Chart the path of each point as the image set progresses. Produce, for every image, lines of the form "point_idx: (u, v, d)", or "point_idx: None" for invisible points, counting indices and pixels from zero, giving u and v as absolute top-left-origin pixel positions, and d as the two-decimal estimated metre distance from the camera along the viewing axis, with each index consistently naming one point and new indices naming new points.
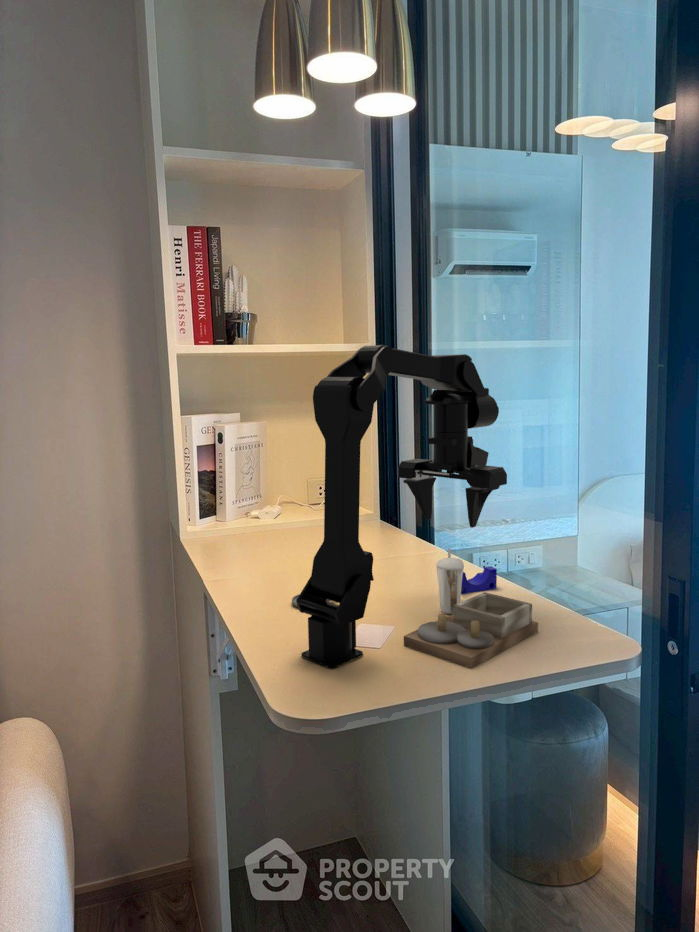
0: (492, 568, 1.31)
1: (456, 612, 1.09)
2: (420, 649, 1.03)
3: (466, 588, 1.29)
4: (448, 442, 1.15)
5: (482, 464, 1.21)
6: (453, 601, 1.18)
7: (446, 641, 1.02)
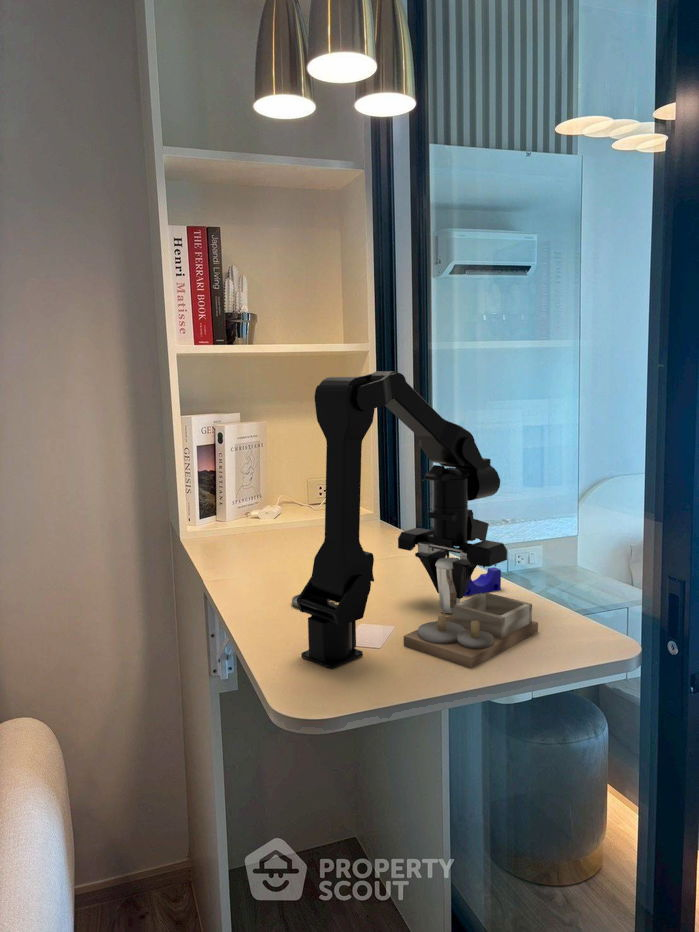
0: (496, 569, 1.30)
1: (456, 612, 1.09)
2: (420, 649, 1.03)
3: (471, 589, 1.28)
4: (448, 518, 1.15)
5: (482, 536, 1.21)
6: (453, 600, 1.18)
7: (446, 641, 1.02)
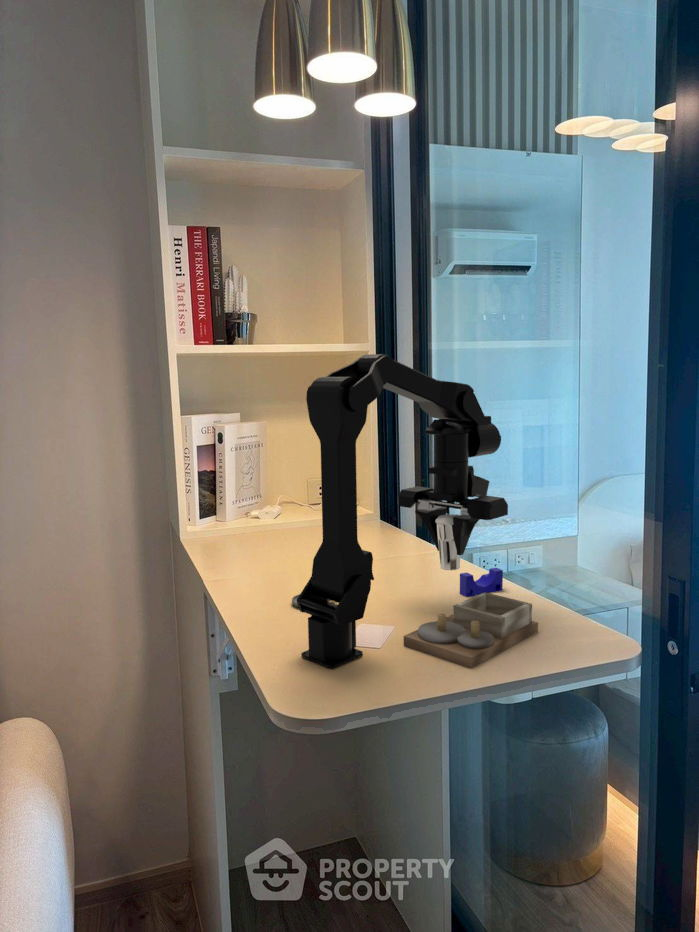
0: (498, 569, 1.30)
1: (456, 612, 1.09)
2: (420, 649, 1.03)
3: (474, 590, 1.27)
4: (448, 472, 1.14)
5: (483, 493, 1.20)
6: (453, 557, 1.17)
7: (446, 641, 1.02)
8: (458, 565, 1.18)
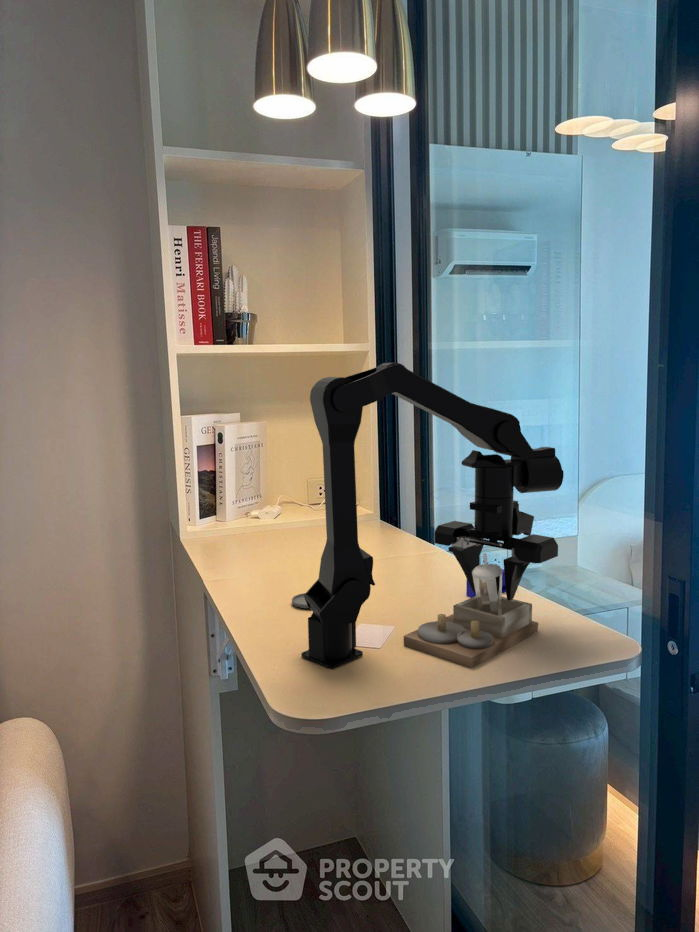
0: (503, 570, 1.29)
1: (456, 612, 1.09)
2: (420, 649, 1.03)
3: None
4: (493, 509, 1.04)
5: (527, 530, 1.10)
6: (494, 612, 1.07)
7: (446, 641, 1.02)
8: None
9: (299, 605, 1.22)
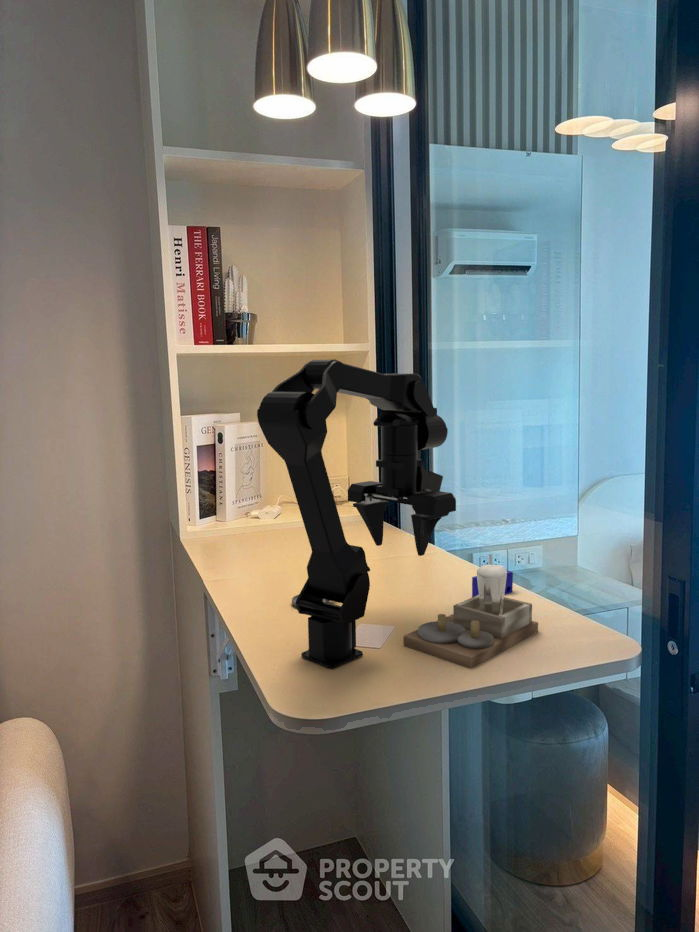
0: (508, 571, 1.29)
1: (456, 612, 1.09)
2: (420, 649, 1.03)
3: None
4: (395, 466, 1.09)
5: (435, 488, 1.15)
6: (495, 612, 1.07)
7: (446, 641, 1.02)
8: None
9: None
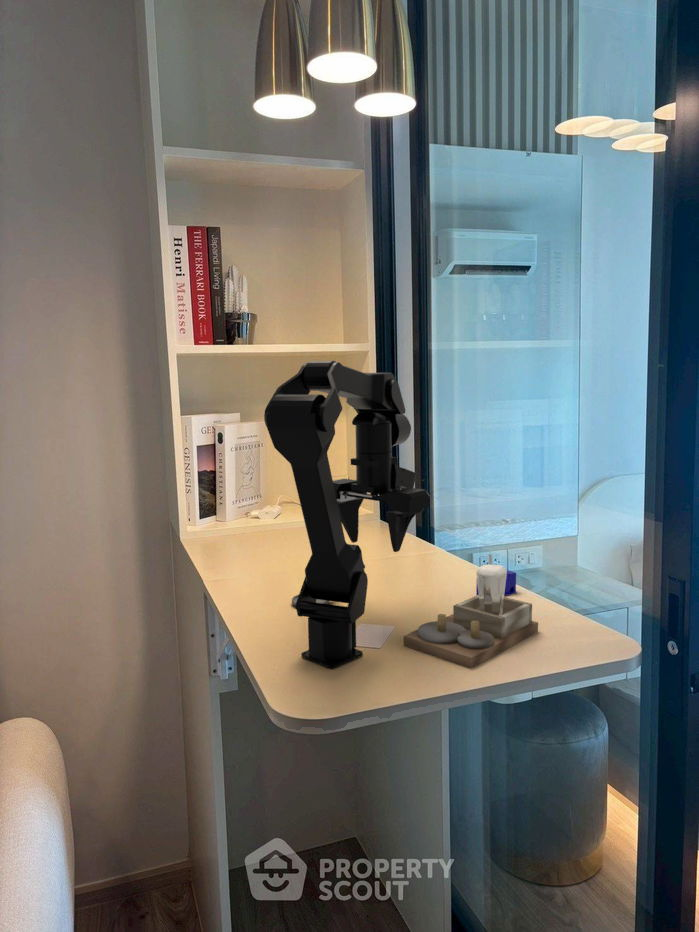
0: (511, 572, 1.28)
1: (456, 612, 1.09)
2: (420, 649, 1.03)
3: None
4: (369, 464, 1.10)
5: (409, 485, 1.17)
6: (495, 612, 1.07)
7: (446, 641, 1.02)
8: None
9: None
